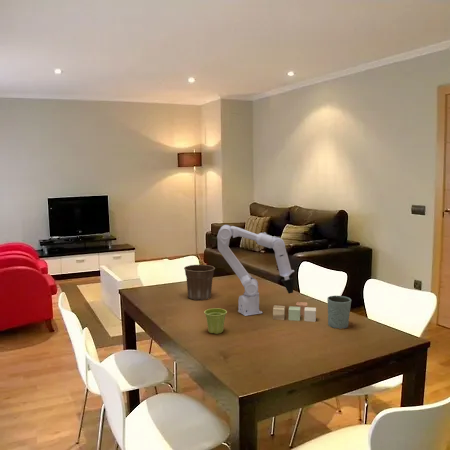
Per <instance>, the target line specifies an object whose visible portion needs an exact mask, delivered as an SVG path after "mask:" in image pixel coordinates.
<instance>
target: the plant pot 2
mask: <svg viewBox="0 0 450 450" xmlns="http://www.w3.org/2000/svg"><path fill="white" fill-rule="evenodd" d="M203 313H204V315H205V317H206V322H207V323H206V324H207V331H208V333H210V334H214V335H218V334H221V333H222V332H224V326H225V318H226V315H227V313H228V311H227V310H226V309H224V308H217V307H213V308H208V309H206V310H204V312H203Z"/></svg>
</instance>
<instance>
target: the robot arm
mask: <svg viewBox="0 0 450 450" xmlns="http://www.w3.org/2000/svg"><path fill="white" fill-rule="evenodd" d="M231 237H232V238H233V239H234V238H237V237H240V238H245V239H247V240H251V241H255V242H256V244H257V245H258V246H262V247H264V248H268V249H273V251H274V256H275V260H276V265H277V268H278V272H279V276H280V278H282V279H281V280H280V281H281V283H282V284H283V285H284V287H285V288H286V291H287V293H288V294H293V293H294V287H293V284H294V277H293V273H295V270H294V269H292V267H291V263H290V259H289V256H288V252H287V249H286V243H285V241H284V239H283V238H281V237H279V236H275V235H274V236H272V235H270V234H268V233H267V232H265V231H264V232H259V233H255V232H253V231H249V230H246V229H244V228H242V227H238V226H234V225H229V224H224V225H221V226H220V228H219V229H218V233H217V236H216V239H217V250H218V251H219V253H220V255H222V257H223V258H224V260H225V261H226V263H227V264H228V265H229V266H230V268H231V269H232V271H233V272H234V273H235V275H236V276H237V278H238V279H239V281H240V282H241V284H242V286H243V287H244V292H243V294H242V295H239V296H238V302H237V303H238V310H237V312H238V313H240V314H241V315H243V316H244V317H245V316H246V317H247V316H253V315H259V314H261V315H262V314H263V311H262V310H260V292H259V282H258V280H257V279H256V278H254V277H253V276H252V275H251V274H250V273H249V272H248V271H247V270H246V268H245V267H244V266H243V264H242V262H241V261H240V260H239V259H238V258H237V255H235V253H234V252H233V251H232V249H231V248H230V247H229V246H230V239H231Z"/></svg>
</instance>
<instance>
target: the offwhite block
mask: <svg viewBox="0 0 450 450" xmlns="http://www.w3.org/2000/svg"><path fill="white" fill-rule="evenodd" d="M316 314H317V307H309V306H307V307H305V310H304V316H303V319H304V320H303V321H304V322H311V323H315V322H317V321H316V320H317V318H316V317H317V315H316Z"/></svg>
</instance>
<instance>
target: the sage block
mask: <svg viewBox="0 0 450 450" xmlns="http://www.w3.org/2000/svg"><path fill="white" fill-rule="evenodd" d="M288 321H296V322H300V321H301V316H300V307H296V306H288Z"/></svg>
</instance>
